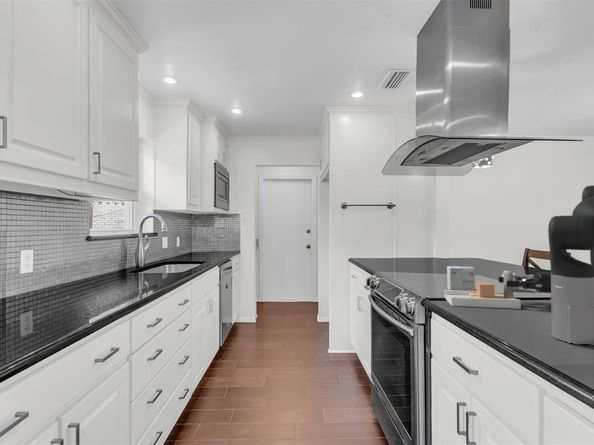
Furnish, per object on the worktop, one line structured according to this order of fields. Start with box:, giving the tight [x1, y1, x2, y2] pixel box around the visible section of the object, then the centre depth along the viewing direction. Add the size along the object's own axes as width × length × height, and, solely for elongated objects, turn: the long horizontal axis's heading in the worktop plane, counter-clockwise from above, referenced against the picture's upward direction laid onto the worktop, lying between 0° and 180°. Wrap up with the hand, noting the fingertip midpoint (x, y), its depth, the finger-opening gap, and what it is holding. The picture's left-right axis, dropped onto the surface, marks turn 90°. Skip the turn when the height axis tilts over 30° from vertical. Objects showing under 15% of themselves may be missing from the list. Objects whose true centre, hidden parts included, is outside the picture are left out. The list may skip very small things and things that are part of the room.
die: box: [498, 272, 520, 291], centre depth 150 cm, size 8×9×10 cm
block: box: [475, 281, 496, 298], centre depth 127 cm, size 5×5×5 cm
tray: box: [444, 289, 522, 310], centre depth 128 cm, size 14×23×3 cm, turn 76°
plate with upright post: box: [469, 269, 516, 299], centre depth 127 cm, size 11×14×11 cm
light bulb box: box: [446, 265, 476, 291], centre depth 151 cm, size 11×7×11 cm, turn 78°
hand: (502, 281), depth 126 cm, fingers open, 8 cm apart
